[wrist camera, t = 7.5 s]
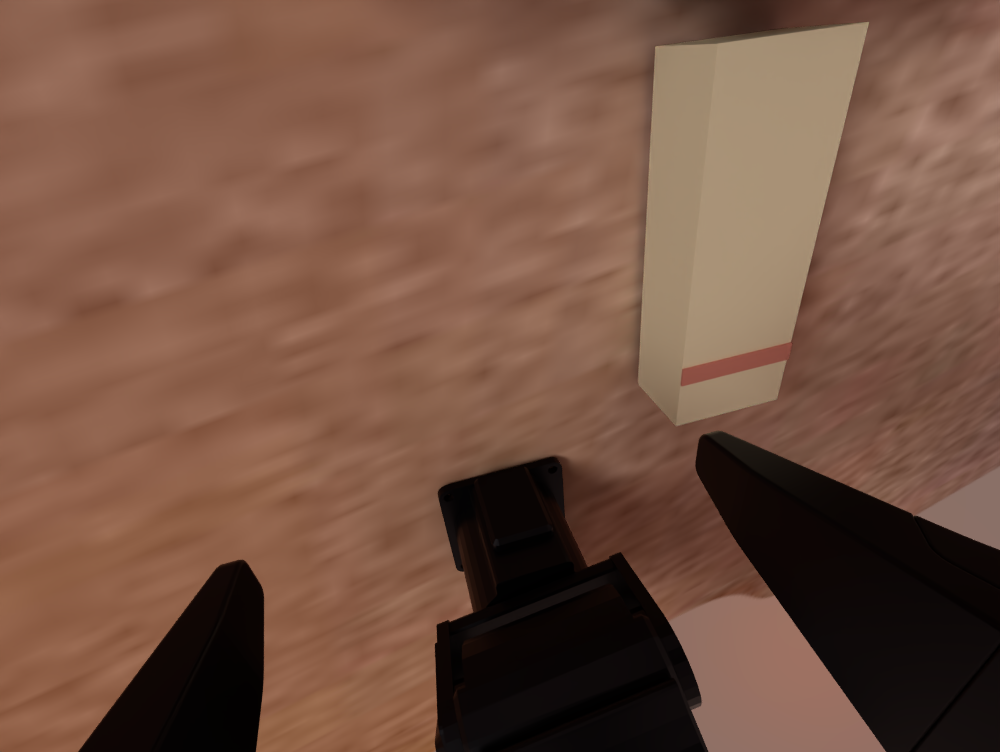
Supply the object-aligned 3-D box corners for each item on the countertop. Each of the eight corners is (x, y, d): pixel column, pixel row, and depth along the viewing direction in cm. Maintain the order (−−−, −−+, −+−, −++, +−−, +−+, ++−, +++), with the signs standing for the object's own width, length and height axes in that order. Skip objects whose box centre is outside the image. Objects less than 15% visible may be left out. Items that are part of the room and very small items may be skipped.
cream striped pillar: (728, 361, 26) (778, 400, 23) (637, 383, 25) (677, 427, 22) (785, 28, 18) (871, 21, 15) (655, 46, 17) (720, 43, 14)
